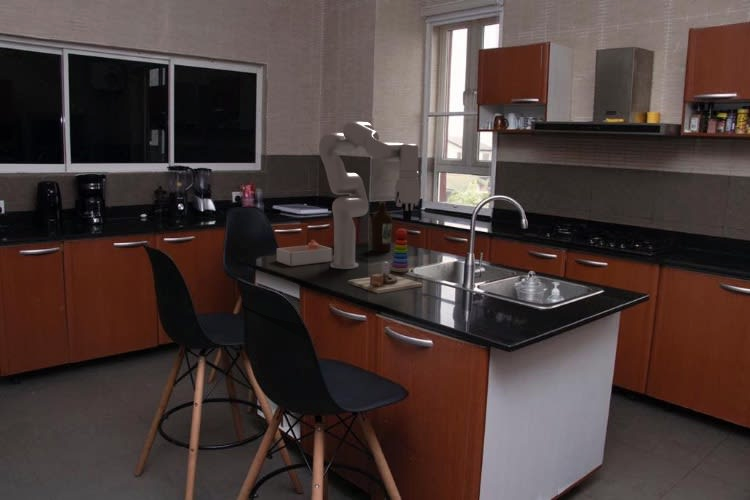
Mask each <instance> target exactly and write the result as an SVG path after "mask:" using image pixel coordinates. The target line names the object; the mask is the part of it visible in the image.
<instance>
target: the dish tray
mask: <svg viewBox="0 0 750 500" xmlns="http://www.w3.org/2000/svg"><path fill="white" fill-rule="evenodd" d="M308 247H310V246H308V244H307V245H297V246H288V247H279V248H278V247H277V248H276V262H278V263H281V264H284V265H287V266H290V267H294V266H302V265H310V264H312V265H313V264H319V263H328V262H329V263H330V262H333V259H331V257H332V256H333V248H332V247H329V246H324V245H320V244H318V246H317V247H318V248H319V250H311V251H308ZM291 252H292V253H291Z"/></svg>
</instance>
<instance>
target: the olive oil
mask: <svg viewBox="0 0 750 500" xmlns="http://www.w3.org/2000/svg"><path fill="white" fill-rule="evenodd" d="M378 203H379V204H378V210H377V211H376V212H375V213H374V214H373V216H372V218H371V242H372V243H371V250H372V251H373V252H376V253H388V251H389V252H390V251H391V248H392V247H391V245H392V242H393V241H392V232H393V217H392V216H391V214H390V213H389V212H388V211H387V210H386V209H387V208H386V206H387V205H386V201H379V202H378Z"/></svg>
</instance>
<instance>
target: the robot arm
mask: <svg viewBox="0 0 750 500" xmlns="http://www.w3.org/2000/svg"><path fill="white" fill-rule="evenodd" d="M360 148H362V149H364V150H365V152H366V154H367V155H368V156H370V157H372V158H373V159H375V160H378V161H379V162H385V163H386V162H388V163H389V162H398V165H399V166H398V170H399V171H398V177H397V178H396V183H395V187H394V189H395V190H394V197H393V198H394V202H395V205H396V207H398V208H399V207H400V208H401V211H402V219H403V221H407V222H409V221H411V220H412V211H413V209H414V207H416V206H419V202H420V199H421V198H420V197H421V196H420V195H421V189H420V188H421V186H420V180H419V178H418V177H419V175H420V172H419V146H418V145H417V144H416V143H402V142H383V141H381V140H380V135H379V134H378V132H377V131H376V130H375V128H374V126H373V125H372V124H371V123H369V122H367V121H349V122H347V123H345V124H344V126H343V127H342V132H328V133H325V134H324V135H322V137H321V138H320V141H319V144H318V153H319V156H320V158H321V160H322V163H323V165H324V166H323V167H324V168H325V173H326V176H327V181H328V184H329V188H330V191H331V193H333V194H334V195H346V196H340V197H337V198H335V199H334V201H333V202H332V206H331V210H332V215H333V225H334V226H333V234H334V236H333V240H334V241H333V255H332V257H331V259H332V262H331V263H330V267H331V268H333V269H339V270H352V269H357V268H358V267H359V263H358V262H356V236H357V235H356V232H357V231H356V230H357V229H356V225H355V222H354V219H353V218H356V217H357V218H358V217H362V216H365V215H366V214H367V213H368V211H369V201H368V197H367V193H366V189H365V186H364V182H363V179H362V177H361V176H360V175H359V174H357V173H355V172H347V171H346V167H345V165H344V161H343V159H342V158H341V157H340V155H338V153H340V152H341V153H352V152H354V151H356V150H358V149H360Z"/></svg>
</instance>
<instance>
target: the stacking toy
mask: <svg viewBox="0 0 750 500" xmlns="http://www.w3.org/2000/svg"><path fill="white" fill-rule="evenodd" d="M395 237H396V239H395V244H394V250H393V252H394V253H393V254H392V256H393V257H392V262H391V267H390V271H392V272H396V273H407V272H408V271H409V270H410V267H409V263H408V262H409V258H408V257H409V255H408V245H407V244H408V240H407V237H408V232H407V230H406V229H404V228H398V229H397V230H396V231H395Z"/></svg>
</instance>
